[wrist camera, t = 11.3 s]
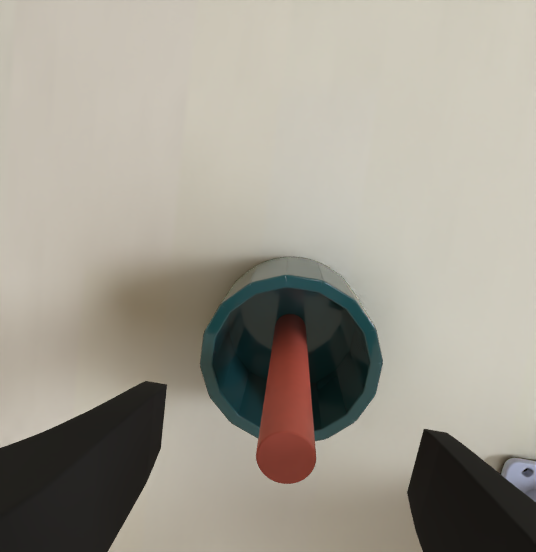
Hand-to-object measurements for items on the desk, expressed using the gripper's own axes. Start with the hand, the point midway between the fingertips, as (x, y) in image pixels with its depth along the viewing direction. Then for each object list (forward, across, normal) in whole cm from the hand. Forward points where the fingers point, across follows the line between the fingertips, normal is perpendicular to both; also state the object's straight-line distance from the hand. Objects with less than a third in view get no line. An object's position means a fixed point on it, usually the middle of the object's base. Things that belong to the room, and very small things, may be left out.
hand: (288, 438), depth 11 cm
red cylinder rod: (+8, 0, 0) cm, 9 cm away
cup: (+9, 0, 0) cm, 9 cm away
